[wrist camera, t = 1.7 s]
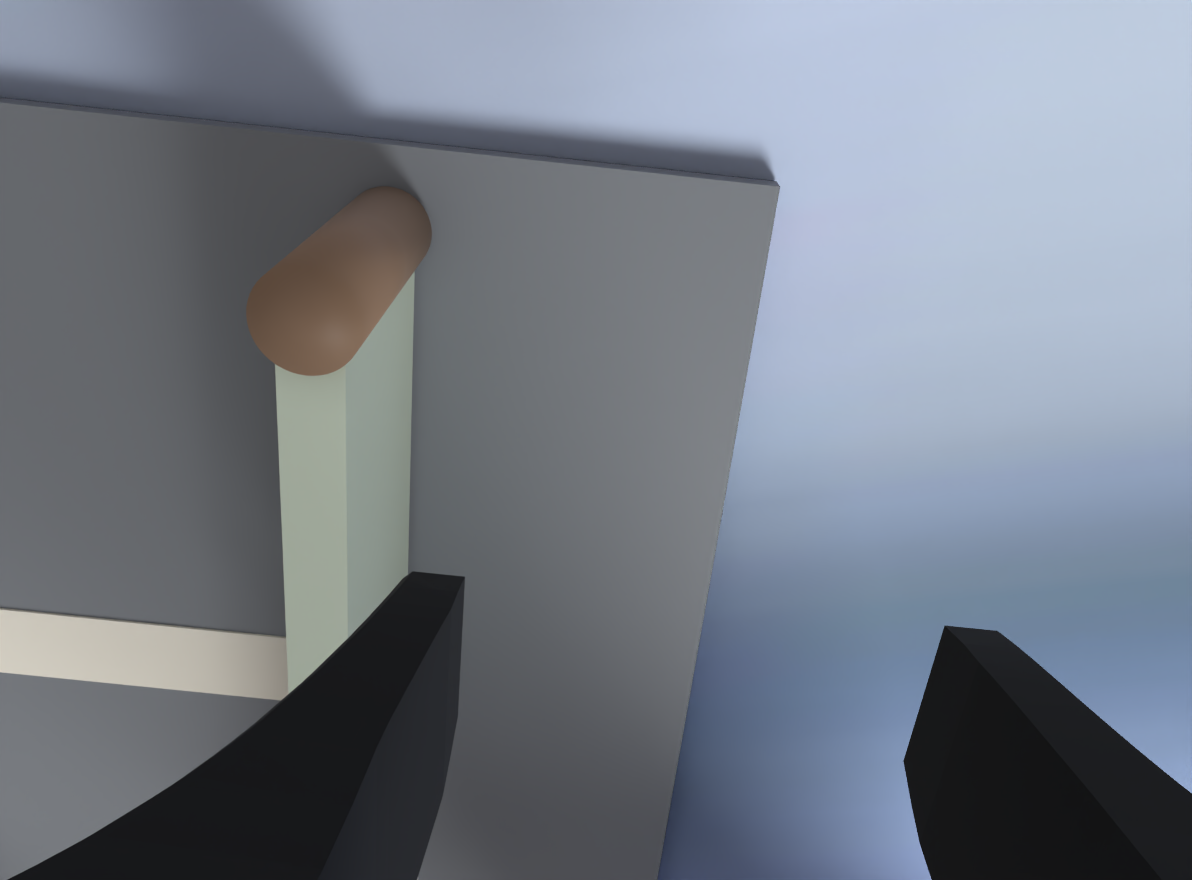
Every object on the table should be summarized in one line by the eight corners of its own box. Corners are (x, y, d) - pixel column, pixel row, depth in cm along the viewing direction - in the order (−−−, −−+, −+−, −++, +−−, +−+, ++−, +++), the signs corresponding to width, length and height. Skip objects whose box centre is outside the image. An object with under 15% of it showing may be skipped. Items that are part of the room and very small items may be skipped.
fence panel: (417, 701, 23) (363, 889, 18) (348, 694, 23) (276, 881, 18) (432, 191, 18) (363, 270, 13) (344, 181, 18) (243, 257, 13)
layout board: (776, 181, 18) (780, 187, 18) (636, 977, 28) (636, 996, 27) (-262, 69, 18) (-287, 72, 18) (-48, 911, 28) (-61, 929, 27)
